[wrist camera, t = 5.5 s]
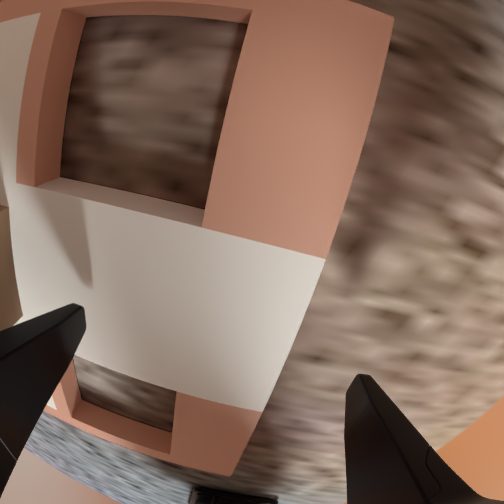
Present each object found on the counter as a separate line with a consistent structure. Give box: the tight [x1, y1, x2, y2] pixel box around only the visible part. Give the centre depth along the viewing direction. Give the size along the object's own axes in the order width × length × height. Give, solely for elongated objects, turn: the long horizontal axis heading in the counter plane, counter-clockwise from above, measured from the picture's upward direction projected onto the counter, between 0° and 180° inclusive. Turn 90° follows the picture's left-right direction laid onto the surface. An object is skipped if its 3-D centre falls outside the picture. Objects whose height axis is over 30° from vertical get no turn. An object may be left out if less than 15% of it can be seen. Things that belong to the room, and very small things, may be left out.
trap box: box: [0, 0, 395, 477], centre depth 10 cm, size 21×17×4 cm
